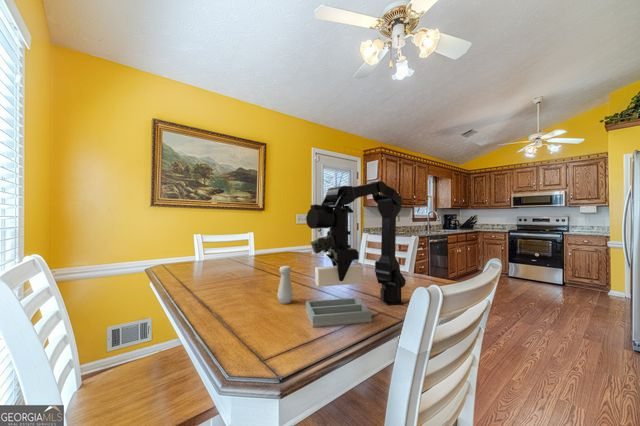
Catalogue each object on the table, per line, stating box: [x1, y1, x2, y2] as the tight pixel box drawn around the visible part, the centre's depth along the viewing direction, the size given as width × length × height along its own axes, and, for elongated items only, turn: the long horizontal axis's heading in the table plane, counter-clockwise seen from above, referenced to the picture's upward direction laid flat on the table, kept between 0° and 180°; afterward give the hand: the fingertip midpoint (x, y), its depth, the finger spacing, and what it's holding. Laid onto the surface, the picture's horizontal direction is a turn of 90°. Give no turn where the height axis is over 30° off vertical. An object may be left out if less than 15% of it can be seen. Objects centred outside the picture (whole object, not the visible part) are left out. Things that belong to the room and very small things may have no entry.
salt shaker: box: [277, 265, 294, 305], centre depth 92 cm, size 6×6×13 cm
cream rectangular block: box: [314, 264, 364, 288], centre depth 76 cm, size 14×4×5 cm, turn 105°
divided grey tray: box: [305, 297, 373, 328], centre depth 79 cm, size 18×13×3 cm
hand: (339, 279), depth 76 cm, fingers closed on cream rectangular block, 4 cm apart
